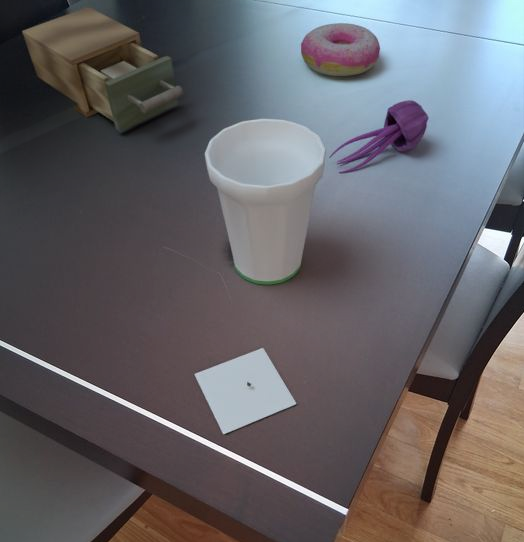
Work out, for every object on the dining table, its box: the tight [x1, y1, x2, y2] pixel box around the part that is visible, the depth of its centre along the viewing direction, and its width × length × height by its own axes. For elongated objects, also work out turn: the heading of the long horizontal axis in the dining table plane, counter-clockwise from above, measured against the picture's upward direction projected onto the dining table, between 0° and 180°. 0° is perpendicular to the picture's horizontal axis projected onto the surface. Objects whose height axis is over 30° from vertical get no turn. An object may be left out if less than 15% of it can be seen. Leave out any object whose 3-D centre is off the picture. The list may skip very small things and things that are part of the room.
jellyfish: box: [328, 99, 429, 174], centre depth 81 cm, size 7×7×15 cm
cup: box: [204, 118, 327, 286], centre depth 64 cm, size 12×12×15 cm
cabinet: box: [21, 6, 143, 118], centre depth 94 cm, size 15×13×9 cm
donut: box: [300, 22, 381, 77], centre depth 98 cm, size 14×13×5 cm
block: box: [101, 61, 137, 80], centre depth 89 cm, size 4×4×4 cm
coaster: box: [194, 347, 297, 435], centre depth 58 cm, size 8×8×1 cm
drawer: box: [77, 42, 184, 132], centre depth 88 cm, size 18×11×7 cm, turn 44°
